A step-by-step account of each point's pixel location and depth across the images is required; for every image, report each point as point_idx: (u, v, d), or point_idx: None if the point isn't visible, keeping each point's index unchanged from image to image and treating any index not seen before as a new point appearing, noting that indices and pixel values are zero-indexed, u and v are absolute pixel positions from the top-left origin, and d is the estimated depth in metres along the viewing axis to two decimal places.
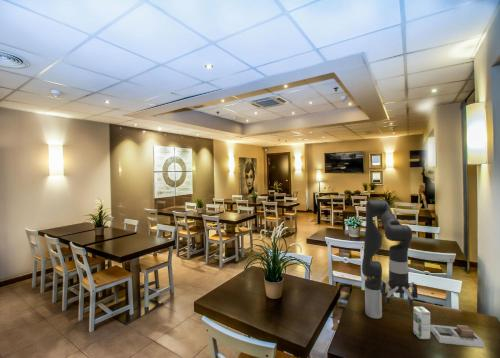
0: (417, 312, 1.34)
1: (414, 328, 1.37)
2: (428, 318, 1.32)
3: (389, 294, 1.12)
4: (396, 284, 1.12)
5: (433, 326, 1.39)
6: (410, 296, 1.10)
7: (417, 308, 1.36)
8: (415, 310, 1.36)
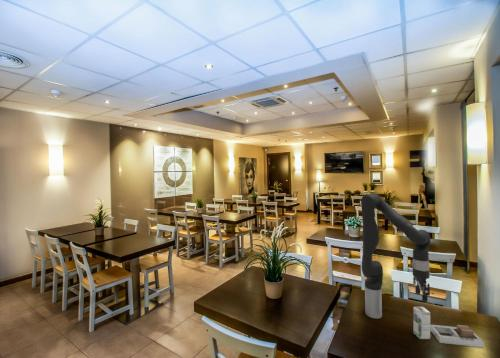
0: (417, 312, 1.34)
1: (414, 328, 1.37)
2: (428, 318, 1.32)
3: None
4: None
5: (433, 326, 1.39)
6: None
7: (417, 308, 1.36)
8: (415, 310, 1.36)
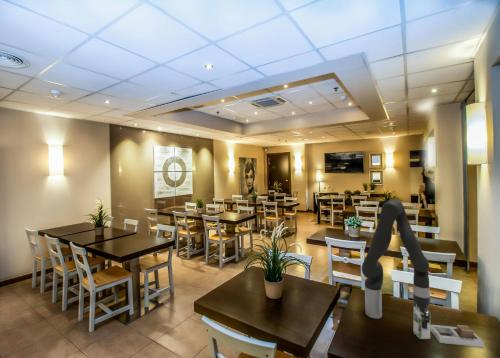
0: (417, 312, 1.34)
1: (414, 328, 1.37)
2: None
3: None
4: None
5: (433, 326, 1.39)
6: None
7: (417, 308, 1.36)
8: (415, 310, 1.36)
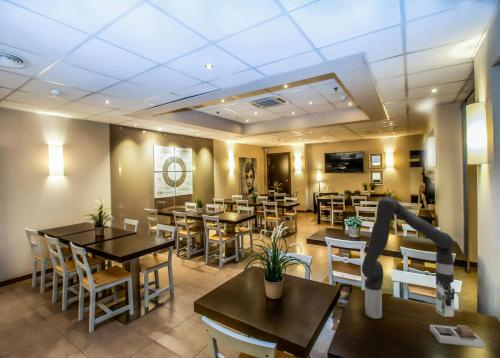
0: (440, 289, 1.33)
1: (437, 306, 1.35)
2: None
3: None
4: None
5: (433, 326, 1.39)
6: None
7: (440, 286, 1.34)
8: (438, 288, 1.34)
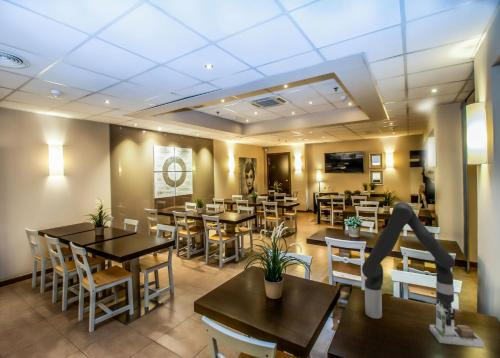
0: (440, 309, 1.33)
1: (437, 325, 1.35)
2: None
3: None
4: None
5: (433, 326, 1.39)
6: None
7: (440, 305, 1.34)
8: (438, 307, 1.34)
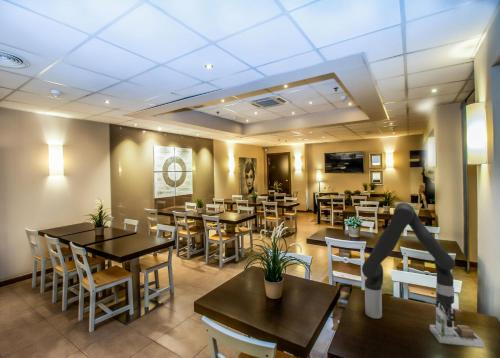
0: (440, 313, 1.33)
1: (437, 329, 1.36)
2: None
3: None
4: None
5: (433, 326, 1.39)
6: None
7: (440, 309, 1.35)
8: (438, 311, 1.35)
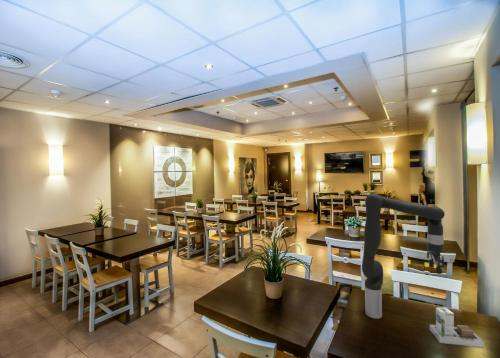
0: (440, 313, 1.33)
1: (437, 329, 1.36)
2: (451, 319, 1.31)
3: None
4: None
5: (433, 326, 1.39)
6: None
7: (440, 309, 1.35)
8: (438, 311, 1.35)
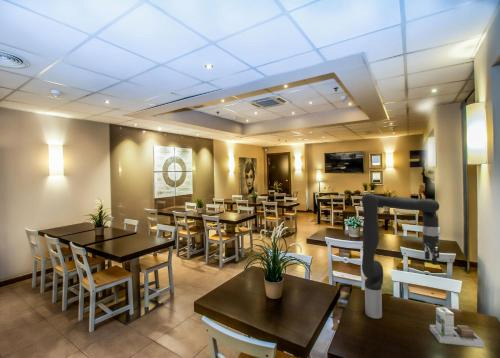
0: (440, 313, 1.33)
1: (437, 329, 1.36)
2: (451, 319, 1.31)
3: None
4: None
5: (433, 326, 1.39)
6: (429, 250, 1.49)
7: (440, 309, 1.35)
8: (438, 311, 1.35)
